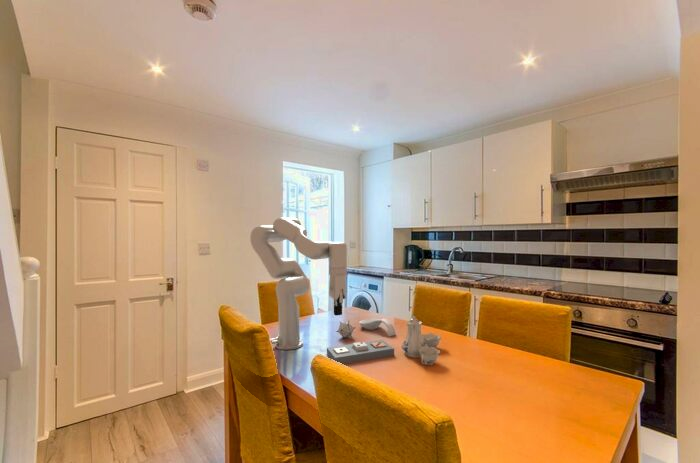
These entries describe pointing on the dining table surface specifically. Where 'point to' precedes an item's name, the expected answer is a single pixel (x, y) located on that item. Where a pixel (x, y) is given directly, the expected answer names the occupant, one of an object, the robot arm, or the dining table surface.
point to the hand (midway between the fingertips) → (337, 314)
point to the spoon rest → (377, 325)
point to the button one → (341, 350)
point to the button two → (360, 346)
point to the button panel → (360, 353)
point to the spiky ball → (345, 329)
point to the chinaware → (420, 343)
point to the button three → (378, 345)
